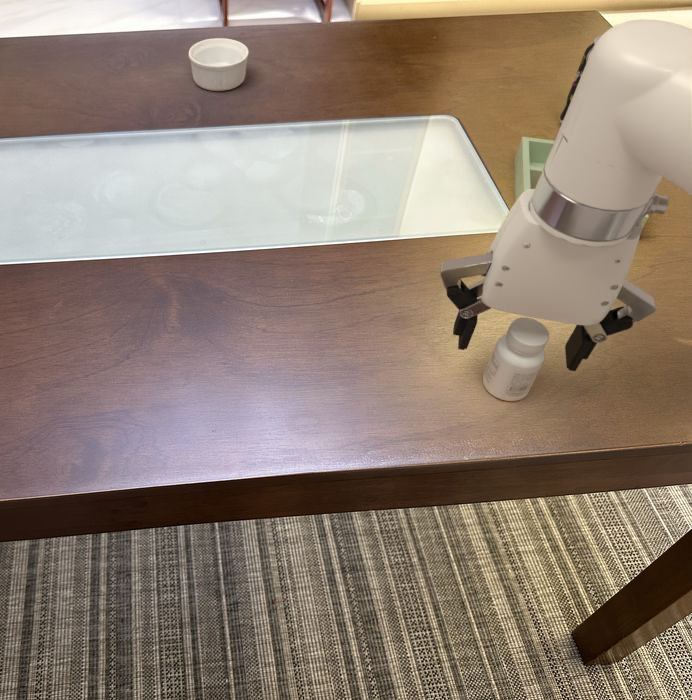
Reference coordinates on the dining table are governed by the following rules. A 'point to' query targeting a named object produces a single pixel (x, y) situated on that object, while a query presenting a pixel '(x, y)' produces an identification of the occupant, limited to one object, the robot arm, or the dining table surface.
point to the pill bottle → (516, 360)
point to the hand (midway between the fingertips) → (515, 348)
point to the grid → (534, 165)
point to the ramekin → (218, 63)
